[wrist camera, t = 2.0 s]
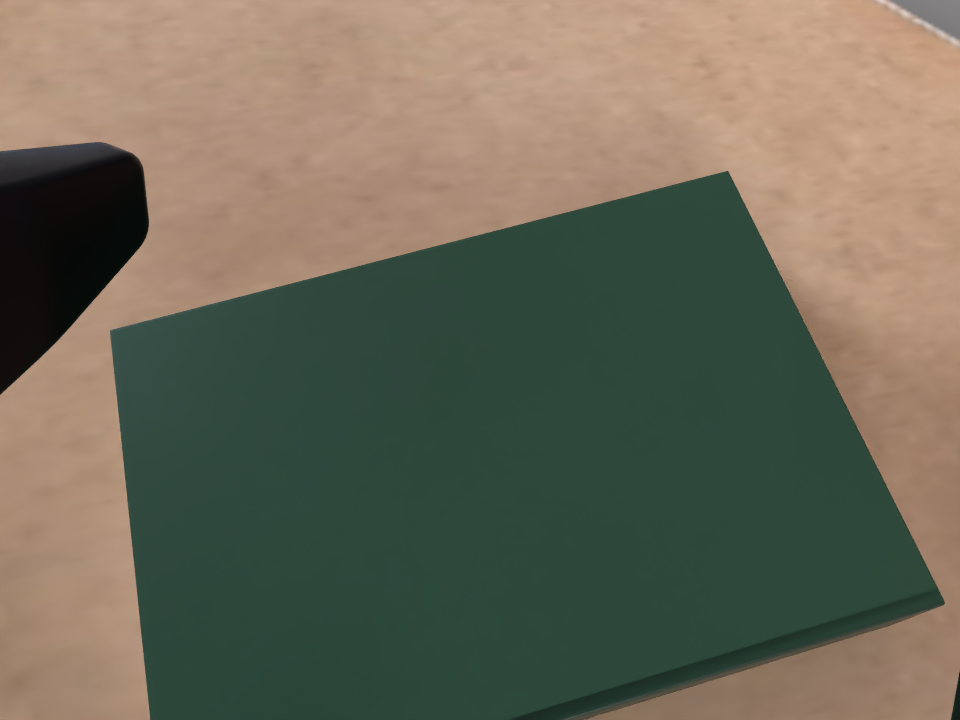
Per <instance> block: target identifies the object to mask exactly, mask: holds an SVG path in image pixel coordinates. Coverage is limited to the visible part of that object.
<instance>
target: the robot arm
mask: <svg viewBox="0 0 960 720" xmlns="http://www.w3.org/2000/svg"><path fill="white" fill-rule="evenodd" d="M148 227H149V218H148V208H147V198H146V189H145V179H144V171H143V166H142V164H141V162H140V160H139V159H138V158H137V157H136V156H135V155H134V154H132V153H130V152H127V151H125V150H122V149H120V148H117V147H115V146H112V145H110V144H107V143H102V142H94V143H84V144H73V145H63V146H52V147H42V148H32V149H21V150H11V151H1V152H0V395H1V394H2V393H3V392H4V391H5V390H6V389H7V388H8V387H9V386H10V385H11V384H12V383H13V382H15V381H16V380H17V379H18V378H19V377H20V376H21V375H22V374H23V373H24V372H25V371H26V370H27V369H29V368H30V367H31V366H32V365H33V364H34V363H35V362H36V361H37V360H38V359H39V358H40V357H41V356H42V355H43V354H44V353H46V352H47V351H48V350H49V349H50V348H51V347H52V346H53V345H54V344H55V343H56V342H57V341H58V340H59V338H60V337H61V336H62V335H63V334H64V333H65V332H66V331H67V330H68V329H69V328H70V327H71V325H72V324H73V323H74V322H75V321H76V320H77V319H78V317H79V316H80V315H81V314H82V313H83V312H84V311H85V309H86V308H87V307H88V306H89V305H90V304H91V303H92V301H93V300H94V299H95V298H96V297H97V296H98V295H99V293H100V292H101V291H102V290H103V289H104V288H105V287H106V285H107V284H108V283H109V282H110V281H111V280H112V279H113V277H114V276H115V275H116V274H117V273H118V272H119V271H120V269H121V268H122V267H123V266H124V265H125V264H126V263H127V261H128V260H129V259H130V258H131V257H132V256H133V255H134V253H135V252H136V251H137V250H138V249H139V248H140V246H141V245H142V244H143V242H144V240H145V238H146V235H147V232H148ZM951 720H960V673H959V678H958V684H957V689H956V695H955V701H954V706H953V712H952V717H951Z"/></svg>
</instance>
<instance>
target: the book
mask: <svg viewBox="0 0 960 720" xmlns="http://www.w3.org/2000/svg"><path fill="white" fill-rule="evenodd" d="M110 336H111V345H112V355H113V364H114V374H115V384H116V393H117V403H118V413H119V422H120V432H121V441H122V451H123V461H124V470H125V480H126V489H127V499H128V509H129V518H130V528H131V537H132V547H133V557H134V566H135V576H136V585H137V595H138V605H139V614H140V624H141V634H142V643H143V653H144V662H145V672H146V682H147V691H148V701H149V710H150V720H584V719H587V718H591V717H594V716H597V715H600V714H604V713H607V712H610V711H613V710H617V709H620V708H623V707H626V706H630V705H633V704H636V703H639V702H643V701H646V700H649V699H652V698H656V697H659V696H662V695H665V694H669V693H672V692H675V691H678V690H682V689H685V688H688V687H691V686H695V685H698V684H701V683H704V682H708V681H711V680H714V679H717V678H721V677H724V676H727V675H730V674H734V673H737V672H740V671H743V670H747V669H750V668H753V667H756V666H760V665H763V664H766V663H769V662H773V661H776V660H779V659H782V658H786V657H789V656H792V655H795V654H799V653H802V652H805V651H808V650H812V649H815V648H818V647H821V646H825V645H828V644H831V643H834V642H838V641H841V640H844V639H847V638H851V637H854V636H857V635H860V634H864V633H867V632H870V631H873V630H877V629H880V628H883V627H887V626H890V625H893V624H895V623H898V622H900V621H903V620H906V619H908V618H911V617H914V616H916V615H919V614H921V613H924V612H927V611H929V610H932V609H934V608H937V607H940V606H942V605H944V604H945V602H944V600H943V598H942V596H941V594H940V592H939V590H938V588H937V586H936V584H935V582H934V580H933V578H932V576H931V574H930V572H929V570H928V568H927V566H926V564H925V562H924V560H923V558H922V556H921V554H920V552H919V550H918V548H917V546H916V544H915V542H914V540H913V538H912V536H911V534H910V532H909V530H908V528H907V526H906V524H905V522H904V520H903V518H902V516H901V514H900V512H899V510H898V508H897V506H896V504H895V502H894V500H893V498H892V496H891V494H890V492H889V490H888V488H887V486H886V484H885V482H884V480H883V478H882V476H881V474H880V472H879V470H878V468H877V466H876V464H875V462H874V460H873V458H872V456H871V454H870V452H869V450H868V448H867V446H866V444H865V442H864V440H863V438H862V437H861V435H860V433H859V431H858V429H857V427H856V425H855V423H854V421H853V419H852V417H851V415H850V413H849V411H848V409H847V407H846V405H845V403H844V401H843V399H842V397H841V395H840V393H839V391H838V389H837V387H836V385H835V383H834V381H833V379H832V377H831V375H830V373H829V371H828V369H827V367H826V365H825V363H824V361H823V359H822V357H821V355H820V353H819V351H818V349H817V347H816V345H815V343H814V341H813V339H812V337H811V335H810V333H809V331H808V329H807V327H806V325H805V323H804V321H803V319H802V317H801V315H800V313H799V311H798V309H797V307H796V305H795V303H794V301H793V299H792V297H791V295H790V293H789V291H788V289H787V287H786V285H785V283H784V281H783V279H782V277H781V275H780V273H779V271H778V269H777V267H776V265H775V263H774V261H773V260H772V258H771V256H770V254H769V252H768V250H767V248H766V246H765V244H764V242H763V240H762V238H761V236H760V234H759V232H758V230H757V228H756V226H755V224H754V222H753V220H752V218H751V216H750V214H749V212H748V210H747V208H746V206H745V204H744V202H743V200H742V198H741V196H740V194H739V192H738V190H737V188H736V186H735V184H734V182H733V180H732V178H731V176H730V174H729V172H728V171H726V172H722V173H718V174H714V175H710V176H706V177H703V178H699V179H695V180H691V181H687V182H683V183H679V184H675V185H672V186H668V187H664V188H660V189H656V190H652V191H648V192H644V193H641V194H637V195H633V196H629V197H625V198H621V199H617V200H613V201H610V202H606V203H602V204H598V205H594V206H590V207H586V208H582V209H579V210H575V211H571V212H567V213H563V214H559V215H555V216H551V217H547V218H544V219H540V220H536V221H532V222H528V223H524V224H520V225H516V226H513V227H509V228H505V229H501V230H497V231H493V232H489V233H485V234H482V235H478V236H474V237H470V238H466V239H462V240H458V241H454V242H451V243H447V244H443V245H439V246H435V247H431V248H427V249H423V250H420V251H416V252H412V253H408V254H404V255H400V256H396V257H392V258H389V259H385V260H381V261H377V262H373V263H369V264H365V265H361V266H358V267H354V268H350V269H346V270H342V271H338V272H334V273H330V274H327V275H323V276H319V277H315V278H311V279H307V280H303V281H299V282H296V283H292V284H288V285H284V286H280V287H276V288H272V289H268V290H265V291H261V292H257V293H253V294H249V295H245V296H241V297H237V298H234V299H230V300H226V301H222V302H218V303H214V304H210V305H206V306H203V307H199V308H195V309H191V310H187V311H183V312H179V313H175V314H172V315H168V316H164V317H160V318H156V319H152V320H148V321H144V322H141V323H137V324H133V325H129V326H125V327H121V328H117V329H113V330H110Z"/></svg>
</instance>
